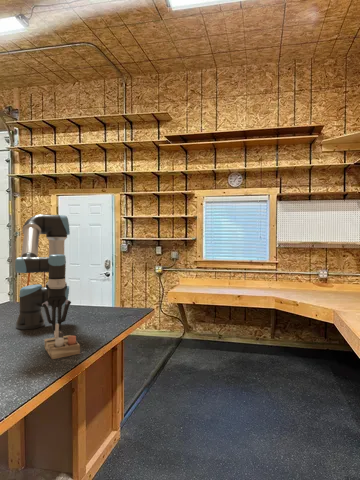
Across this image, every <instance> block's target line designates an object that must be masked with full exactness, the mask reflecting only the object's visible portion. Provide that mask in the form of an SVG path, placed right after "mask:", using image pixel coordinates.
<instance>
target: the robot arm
mask: <svg viewBox="0 0 360 480" xmlns="http://www.w3.org/2000/svg"><path fill="white" fill-rule="evenodd" d="M21 232H22V235H23V239H22V246H21V252H20V253H21V254H20V256H19V257H16V258H15V261H14V270H15V271H14V272H15V273H18V274H35V273H48V277H47V278H48V280H47V282H46V283H45V286H42V283H41V284H40V283H39V284H31V285H26V286H23V287H21V288H20V290H19V295H18V298H19V304H18V305H19V310H18V311H19V312H18V313H19V314H18V317H17V319H16V323H15V329H17V330H34V329H39V328H42V327H44V326H45V325H46V324H45V323H46V322H45V318H44V315H43V311H42V308H44V312H45V317H46V320H47V322H48V324H51V330H52V331H53V335H54V336H53V338H59V331H62V323H63V322H64V323H65V322H66V319H67V315H68V313H69V312H68V310H69V306H70V305H71V304H72V301H71V300H69V296H70V295H69V294H70V286H69V285H68V283H67V281H66V269H67V268H66V266H67V264H66V263H67V260H66V258H67V257H66V255H65V240H67V238H68V236H70V234H71V233H70V222H69V219H68V216H67V215H63V214H62V215H61V214H42V213H41V214H40V213H39V214H36V215H34V216H31V217H30V218H28V219H26V220H25V222H24V224H23V226H22V231H21ZM41 235H45V238H46V239H47V240H48V256H44V257H43V256H39V241H40V236H41ZM63 306H64V308H63ZM49 307H51V314H50V310H49ZM62 309H63V311H62ZM56 312H57V313H56ZM56 315H57V316H56ZM56 319H57V322H56Z"/></svg>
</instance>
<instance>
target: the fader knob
mask: <svg viewBox="0 0 360 480" xmlns="http://www.w3.org/2000/svg"><path fill="white" fill-rule="evenodd" d="M63 336H64V332H63V331H62V330H59V338H63Z"/></svg>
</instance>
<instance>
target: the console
mask: <svg viewBox="0 0 360 480" xmlns="http://www.w3.org/2000/svg"><path fill="white" fill-rule="evenodd" d="M68 336H72V335H71V334H68V335H63V338H64V346H63V347H55V339H56V338H55V337H48V338H44V345H43V346H44V349H45V350H46V352H47V354H48V355H49V357H50V359H51V360H57V359H61V358H65V357H70V356H75V355H80V354H81V344H80V343H78V341H77V340H76V344H75V345H68Z"/></svg>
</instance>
